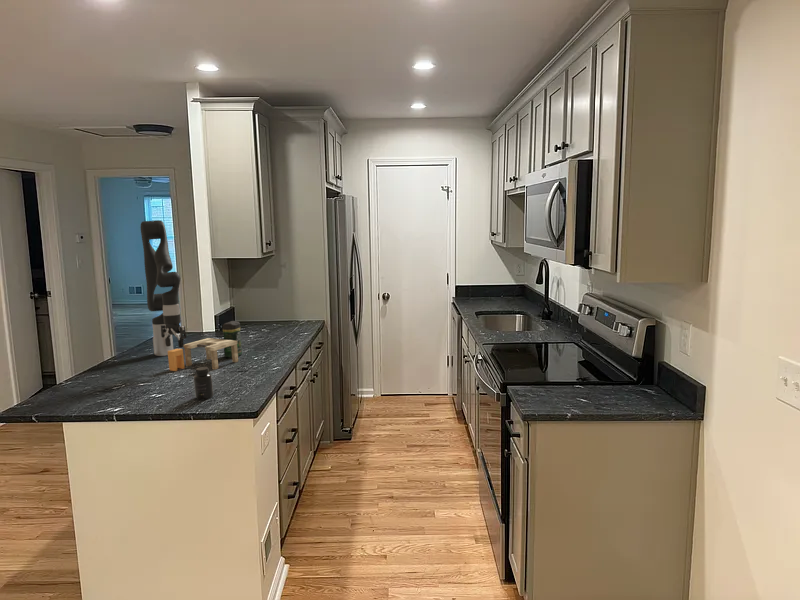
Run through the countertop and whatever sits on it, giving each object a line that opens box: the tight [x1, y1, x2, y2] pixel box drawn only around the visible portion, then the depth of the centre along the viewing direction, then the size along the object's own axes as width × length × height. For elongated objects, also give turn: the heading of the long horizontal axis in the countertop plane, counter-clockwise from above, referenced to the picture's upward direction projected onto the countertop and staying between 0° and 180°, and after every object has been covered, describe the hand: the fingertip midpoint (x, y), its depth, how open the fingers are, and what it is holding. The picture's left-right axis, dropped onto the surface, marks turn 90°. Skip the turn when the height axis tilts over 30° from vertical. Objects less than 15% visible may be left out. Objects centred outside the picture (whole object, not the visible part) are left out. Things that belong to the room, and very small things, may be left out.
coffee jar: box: [222, 320, 243, 359], centre depth 282 cm, size 10×8×19 cm
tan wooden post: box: [167, 348, 186, 372], centre depth 259 cm, size 4×6×10 cm
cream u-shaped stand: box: [183, 337, 239, 370], centre depth 268 cm, size 20×16×11 cm
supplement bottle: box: [193, 366, 214, 400], centre depth 215 cm, size 7×7×12 cm
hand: (174, 346), depth 258 cm, fingers open, 8 cm apart
